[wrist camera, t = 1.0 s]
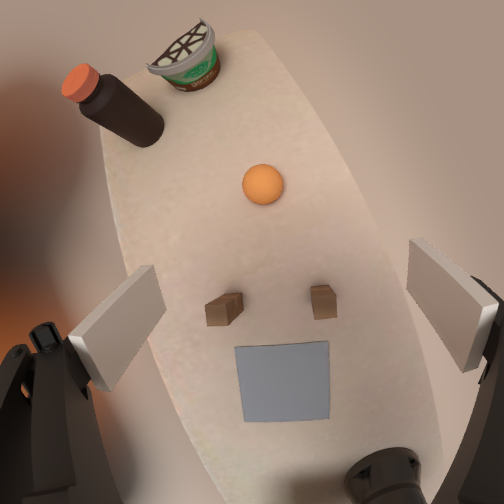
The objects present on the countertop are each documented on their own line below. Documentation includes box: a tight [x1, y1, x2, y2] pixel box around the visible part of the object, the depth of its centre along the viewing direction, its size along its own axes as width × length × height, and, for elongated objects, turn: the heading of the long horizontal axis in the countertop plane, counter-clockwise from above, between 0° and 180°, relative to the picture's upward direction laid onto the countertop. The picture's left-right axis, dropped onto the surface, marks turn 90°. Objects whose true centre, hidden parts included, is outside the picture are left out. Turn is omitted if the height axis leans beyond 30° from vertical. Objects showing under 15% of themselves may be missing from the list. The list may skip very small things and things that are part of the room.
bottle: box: [62, 64, 164, 147], centre depth 35 cm, size 7×7×20 cm
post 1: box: [205, 293, 244, 326], centre depth 38 cm, size 3×3×9 cm
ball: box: [242, 164, 283, 204], centre depth 38 cm, size 6×6×6 cm
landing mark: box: [234, 341, 329, 422], centre depth 41 cm, size 14×14×1 cm
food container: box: [147, 18, 220, 92], centre depth 38 cm, size 12×6×10 cm, turn 136°
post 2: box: [311, 285, 337, 320], centre depth 35 cm, size 3×3×9 cm
